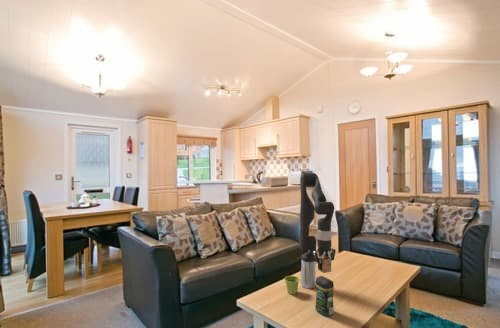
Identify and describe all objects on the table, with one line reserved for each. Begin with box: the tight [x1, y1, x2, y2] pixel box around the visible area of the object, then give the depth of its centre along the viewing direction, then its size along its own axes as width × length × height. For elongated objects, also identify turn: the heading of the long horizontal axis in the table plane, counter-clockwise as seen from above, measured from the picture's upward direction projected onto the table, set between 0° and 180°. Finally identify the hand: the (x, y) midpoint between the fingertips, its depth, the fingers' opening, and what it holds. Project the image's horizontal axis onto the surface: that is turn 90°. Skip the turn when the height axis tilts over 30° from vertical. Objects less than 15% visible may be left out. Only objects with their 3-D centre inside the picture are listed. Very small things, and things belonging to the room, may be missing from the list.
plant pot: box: [284, 275, 301, 295], centre depth 171 cm, size 9×9×9 cm
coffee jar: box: [315, 275, 335, 317], centre depth 149 cm, size 10×8×19 cm
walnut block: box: [317, 257, 332, 274], centre depth 149 cm, size 5×5×7 cm
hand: (324, 268), depth 149 cm, fingers closed on walnut block, 5 cm apart
